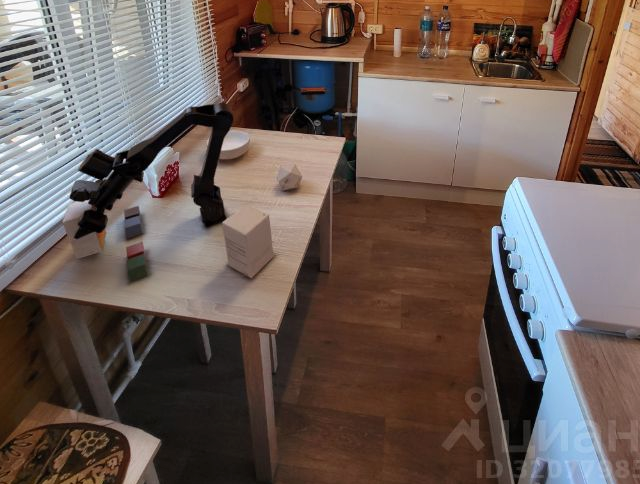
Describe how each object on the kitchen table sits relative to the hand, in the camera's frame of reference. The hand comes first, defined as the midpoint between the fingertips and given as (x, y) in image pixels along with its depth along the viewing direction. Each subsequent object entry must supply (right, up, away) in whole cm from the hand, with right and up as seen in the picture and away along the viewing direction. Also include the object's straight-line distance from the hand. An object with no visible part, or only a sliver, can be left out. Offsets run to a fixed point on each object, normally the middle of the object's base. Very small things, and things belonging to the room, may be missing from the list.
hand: (79, 227), depth 106 cm
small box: (+2, -6, +3) cm, 7 cm away
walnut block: (+7, -4, +14) cm, 16 cm away
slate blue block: (+10, -5, +10) cm, 15 cm away
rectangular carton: (+48, -9, 0) cm, 49 cm away
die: (+53, +2, +32) cm, 62 cm away
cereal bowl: (+25, +10, +51) cm, 58 cm away
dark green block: (+19, -11, -4) cm, 22 cm away
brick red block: (+16, -9, 0) cm, 19 cm away
